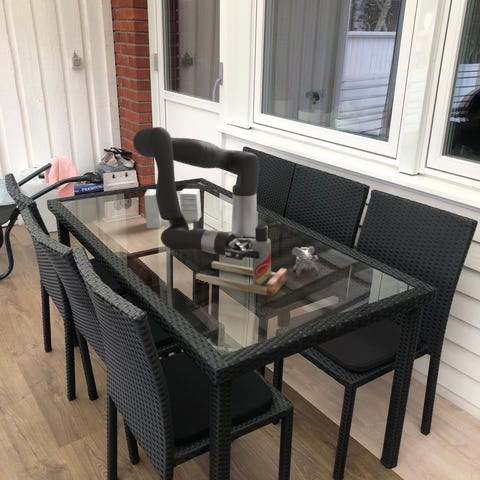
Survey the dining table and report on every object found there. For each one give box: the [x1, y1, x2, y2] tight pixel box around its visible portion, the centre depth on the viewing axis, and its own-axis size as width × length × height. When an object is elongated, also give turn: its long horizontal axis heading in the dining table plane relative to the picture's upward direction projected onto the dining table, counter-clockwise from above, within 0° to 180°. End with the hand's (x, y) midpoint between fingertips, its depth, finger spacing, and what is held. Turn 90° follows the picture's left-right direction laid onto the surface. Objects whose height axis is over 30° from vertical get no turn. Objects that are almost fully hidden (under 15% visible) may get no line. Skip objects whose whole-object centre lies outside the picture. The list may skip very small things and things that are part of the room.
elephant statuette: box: [292, 246, 320, 276], centre depth 169 cm, size 9×12×8 cm
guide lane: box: [195, 260, 288, 297], centre depth 163 cm, size 12×27×4 cm, turn 64°
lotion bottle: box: [251, 224, 272, 287], centre depth 157 cm, size 6×6×20 cm
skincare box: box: [143, 188, 164, 229], centre depth 212 cm, size 8×6×15 cm
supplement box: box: [179, 188, 202, 223], centre depth 218 cm, size 7×7×13 cm
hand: (264, 250), depth 156 cm, fingers open, 8 cm apart
